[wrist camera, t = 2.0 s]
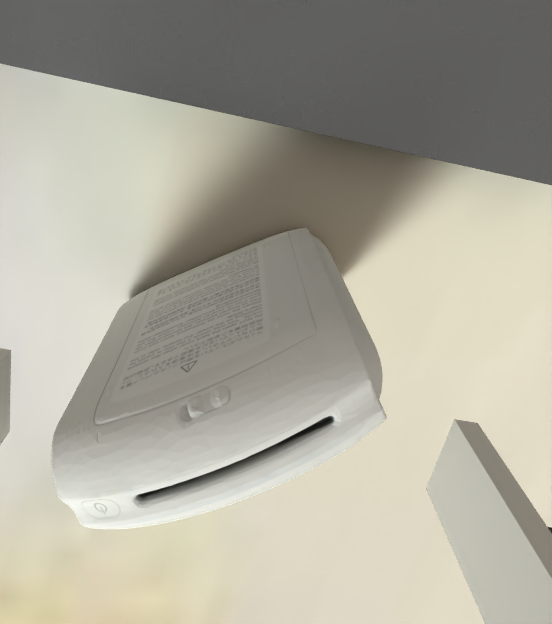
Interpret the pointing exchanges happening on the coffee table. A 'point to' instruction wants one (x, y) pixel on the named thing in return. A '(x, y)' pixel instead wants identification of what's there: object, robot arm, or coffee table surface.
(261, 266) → the photo printer
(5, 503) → the coffee table surface
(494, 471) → the robot arm
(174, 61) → the rail
